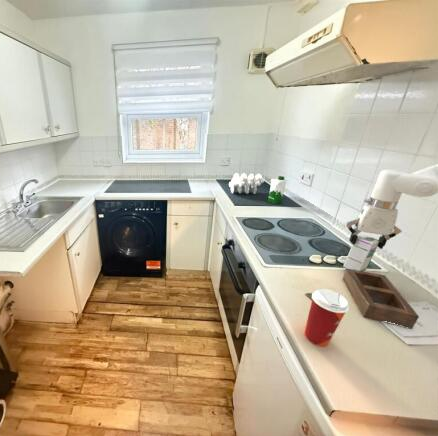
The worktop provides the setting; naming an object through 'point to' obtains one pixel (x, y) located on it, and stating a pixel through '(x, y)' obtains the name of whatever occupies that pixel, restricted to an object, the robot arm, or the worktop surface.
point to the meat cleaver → (309, 295)
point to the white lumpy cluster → (246, 182)
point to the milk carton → (276, 190)
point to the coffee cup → (324, 316)
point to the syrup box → (361, 253)
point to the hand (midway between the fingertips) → (365, 244)
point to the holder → (379, 298)
